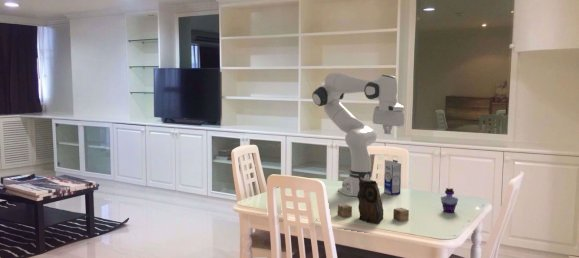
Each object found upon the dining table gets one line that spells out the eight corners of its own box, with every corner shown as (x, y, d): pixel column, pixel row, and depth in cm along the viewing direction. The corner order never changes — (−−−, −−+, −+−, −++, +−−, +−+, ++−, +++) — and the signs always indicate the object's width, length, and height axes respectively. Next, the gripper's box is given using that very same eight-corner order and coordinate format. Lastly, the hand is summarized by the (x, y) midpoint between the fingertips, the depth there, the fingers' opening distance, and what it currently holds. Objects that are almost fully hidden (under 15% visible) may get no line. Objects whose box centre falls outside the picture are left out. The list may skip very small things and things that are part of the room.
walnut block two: (393, 219, 220) (393, 208, 220) (401, 217, 223) (401, 207, 222) (400, 221, 216) (400, 211, 216) (408, 220, 218) (408, 209, 218)
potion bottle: (459, 210, 235) (460, 187, 234) (456, 214, 227) (456, 191, 226) (442, 208, 239) (442, 185, 238) (438, 212, 232) (438, 188, 231)
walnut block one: (337, 215, 227) (337, 205, 226) (345, 214, 229) (345, 204, 229) (343, 217, 222) (343, 207, 222) (351, 216, 225) (351, 206, 224)
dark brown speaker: (379, 225, 211) (380, 182, 209) (352, 222, 215) (353, 180, 213) (384, 217, 222) (385, 177, 221) (358, 214, 227) (359, 175, 225)
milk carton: (383, 192, 274) (384, 159, 272) (393, 191, 277) (393, 158, 275) (391, 195, 268) (392, 161, 266) (400, 193, 270) (401, 160, 268)
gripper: (370, 106, 240) (369, 132, 242) (396, 107, 223) (396, 136, 224) (379, 105, 243) (379, 131, 245) (406, 107, 226) (405, 135, 227)
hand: (387, 133), depth 234 cm, fingers closed
